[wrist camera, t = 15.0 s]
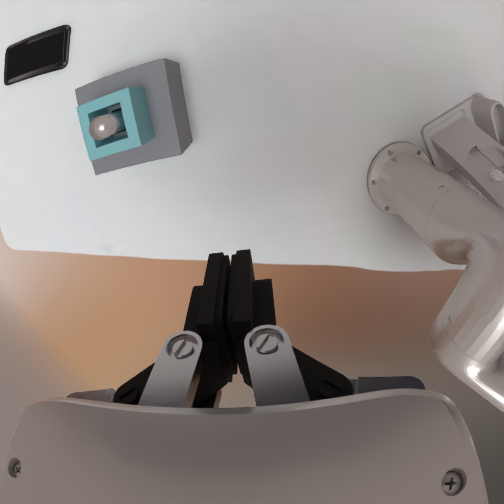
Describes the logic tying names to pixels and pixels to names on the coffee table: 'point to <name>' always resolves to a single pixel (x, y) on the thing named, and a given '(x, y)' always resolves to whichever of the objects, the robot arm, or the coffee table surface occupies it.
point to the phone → (37, 55)
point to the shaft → (106, 125)
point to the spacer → (133, 117)
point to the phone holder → (470, 143)
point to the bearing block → (160, 108)
